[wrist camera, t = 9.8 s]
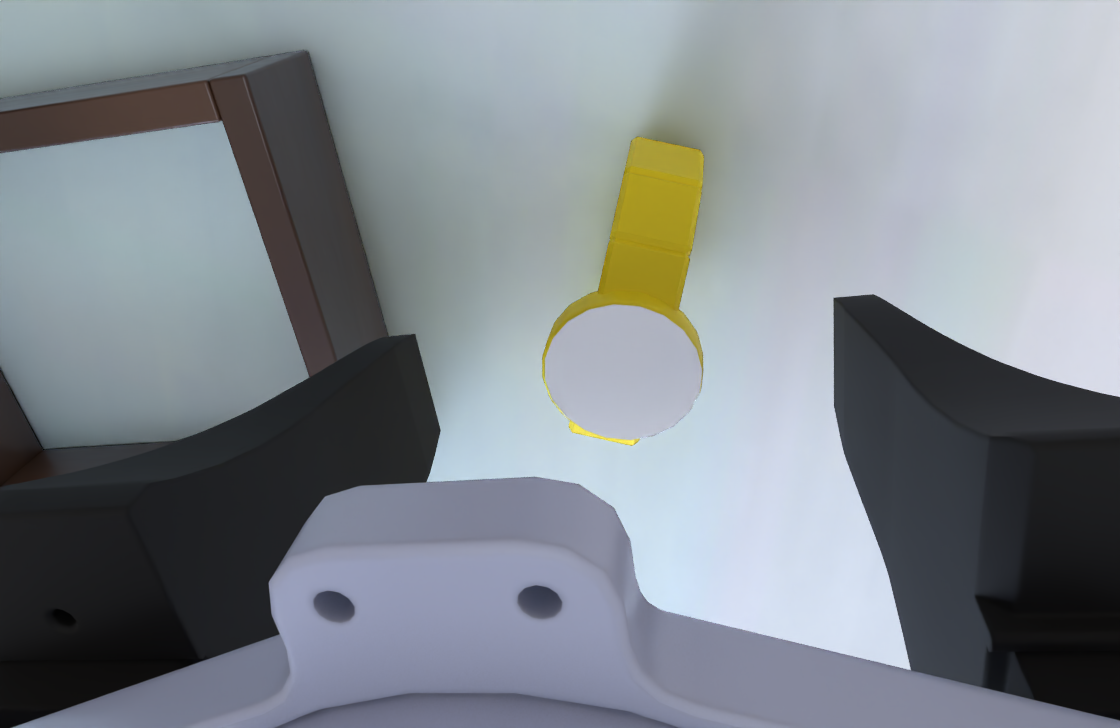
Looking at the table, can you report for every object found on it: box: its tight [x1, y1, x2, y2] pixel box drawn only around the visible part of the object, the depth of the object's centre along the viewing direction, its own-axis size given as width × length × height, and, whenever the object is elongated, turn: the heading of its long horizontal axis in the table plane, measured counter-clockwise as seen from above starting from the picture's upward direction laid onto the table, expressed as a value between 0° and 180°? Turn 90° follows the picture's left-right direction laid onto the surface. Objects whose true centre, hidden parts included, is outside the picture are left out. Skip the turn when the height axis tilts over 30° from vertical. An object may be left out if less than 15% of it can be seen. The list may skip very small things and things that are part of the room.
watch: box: [542, 137, 704, 446], centre depth 17 cm, size 6×3×6 cm, turn 170°
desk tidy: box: [0, 50, 388, 488], centre depth 20 cm, size 13×11×3 cm
